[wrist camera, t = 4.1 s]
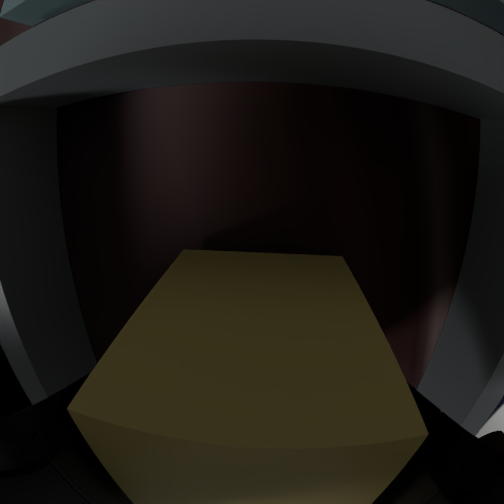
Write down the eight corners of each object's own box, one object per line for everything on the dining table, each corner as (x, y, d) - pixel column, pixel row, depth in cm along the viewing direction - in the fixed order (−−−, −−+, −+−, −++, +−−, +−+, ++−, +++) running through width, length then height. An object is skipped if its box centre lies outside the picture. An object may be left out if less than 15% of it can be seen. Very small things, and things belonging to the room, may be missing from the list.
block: (194, 367, 10) (147, 517, 4) (183, 249, 8) (66, 408, 3) (321, 374, 10) (341, 532, 4) (342, 255, 8) (429, 434, 3)
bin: (102, 423, 13) (78, 469, 10) (31, 78, 7) (-38, 72, 4) (409, 441, 12) (424, 490, 9) (507, 90, 6) (575, 87, 3)
